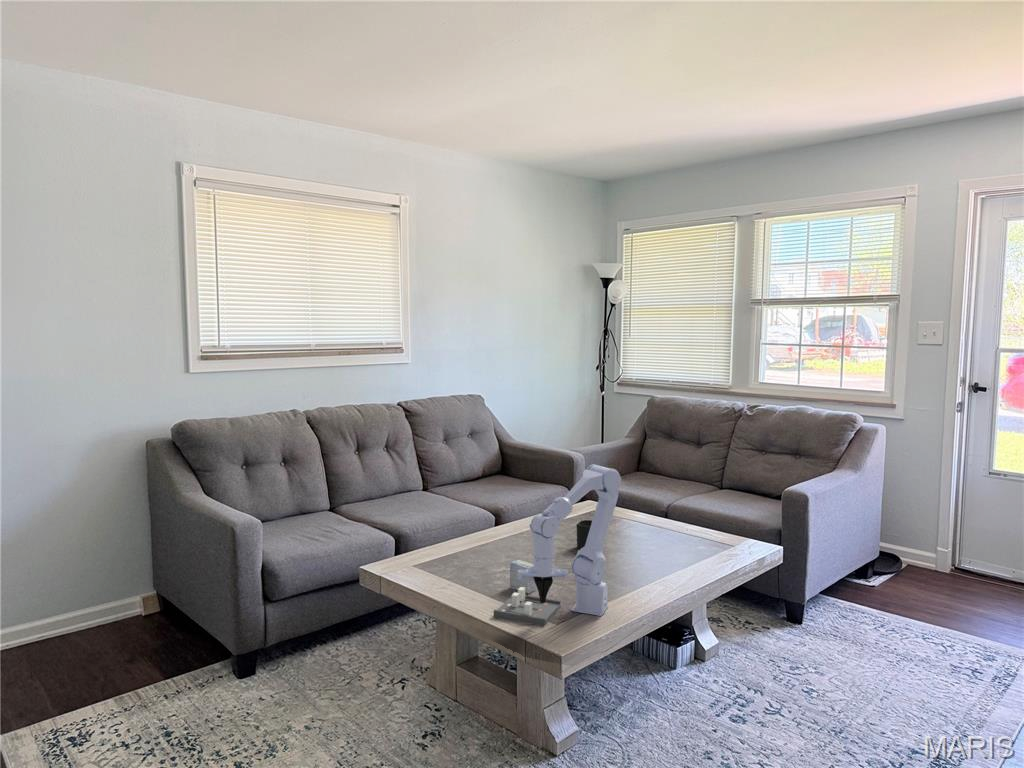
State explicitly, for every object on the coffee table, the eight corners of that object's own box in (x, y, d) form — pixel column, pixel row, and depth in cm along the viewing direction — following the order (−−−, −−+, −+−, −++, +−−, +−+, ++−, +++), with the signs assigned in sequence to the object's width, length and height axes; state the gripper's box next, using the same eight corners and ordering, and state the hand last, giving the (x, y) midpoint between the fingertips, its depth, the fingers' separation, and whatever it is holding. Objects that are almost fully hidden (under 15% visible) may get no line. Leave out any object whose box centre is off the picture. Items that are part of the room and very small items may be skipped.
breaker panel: (560, 607, 213) (560, 600, 213) (544, 626, 199) (544, 619, 199) (512, 598, 219) (512, 592, 219) (493, 617, 205) (493, 610, 205)
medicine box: (536, 590, 226) (536, 564, 226) (527, 594, 223) (527, 568, 222) (518, 584, 232) (518, 559, 231) (509, 588, 228) (509, 562, 228)
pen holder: (604, 550, 268) (605, 525, 267) (583, 553, 264) (583, 527, 264) (593, 543, 277) (593, 519, 276) (572, 546, 273) (572, 521, 272)
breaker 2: (525, 598, 216) (525, 587, 216) (522, 601, 214) (522, 590, 213) (520, 597, 216) (520, 586, 216) (517, 600, 214) (517, 589, 214)
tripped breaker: (532, 614, 204) (532, 602, 204) (529, 617, 202) (529, 605, 202) (527, 613, 205) (527, 601, 205) (524, 616, 203) (524, 604, 202)
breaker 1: (519, 604, 211) (519, 593, 211) (516, 607, 209) (516, 595, 209) (514, 603, 212) (514, 592, 212) (511, 606, 210) (511, 595, 209)
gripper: (565, 551, 205) (564, 595, 206) (517, 552, 204) (516, 596, 205) (569, 559, 198) (568, 605, 199) (519, 559, 197) (518, 606, 198)
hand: (542, 601), depth 201 cm, fingers closed
